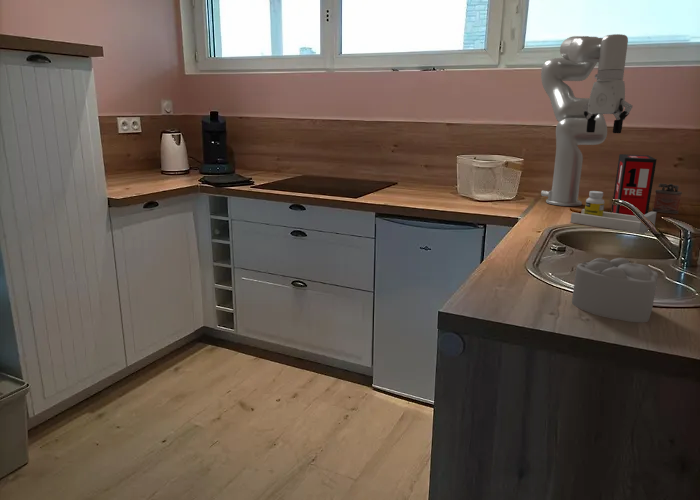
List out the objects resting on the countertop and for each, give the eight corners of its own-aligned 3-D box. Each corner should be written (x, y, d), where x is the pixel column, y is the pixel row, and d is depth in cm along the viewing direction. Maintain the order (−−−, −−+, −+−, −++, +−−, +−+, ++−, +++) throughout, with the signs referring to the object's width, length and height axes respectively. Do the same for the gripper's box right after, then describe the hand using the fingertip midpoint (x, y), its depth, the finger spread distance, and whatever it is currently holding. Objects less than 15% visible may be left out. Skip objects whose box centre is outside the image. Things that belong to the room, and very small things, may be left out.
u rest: (570, 222, 172) (572, 206, 170) (582, 217, 179) (584, 202, 178) (644, 233, 158) (647, 216, 157) (653, 228, 165) (656, 212, 164)
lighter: (678, 212, 192) (683, 184, 189) (677, 213, 189) (683, 185, 187) (652, 209, 196) (657, 182, 194) (651, 211, 193) (656, 183, 191)
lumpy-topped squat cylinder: (647, 325, 91) (655, 276, 88) (565, 309, 97) (571, 262, 95) (653, 307, 99) (661, 262, 97) (577, 293, 106) (583, 250, 104)
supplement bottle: (579, 221, 173) (583, 191, 170) (589, 220, 176) (593, 190, 173) (595, 225, 169) (599, 193, 166) (605, 223, 172) (609, 192, 169)
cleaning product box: (611, 211, 192) (619, 154, 187) (639, 213, 190) (648, 155, 184) (616, 219, 177) (625, 158, 172) (646, 222, 175) (656, 159, 169)
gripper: (578, 78, 176) (572, 132, 180) (627, 74, 161) (619, 133, 165) (594, 79, 179) (588, 132, 183) (643, 75, 164) (635, 133, 168)
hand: (603, 132), depth 174 cm, fingers open, 9 cm apart
